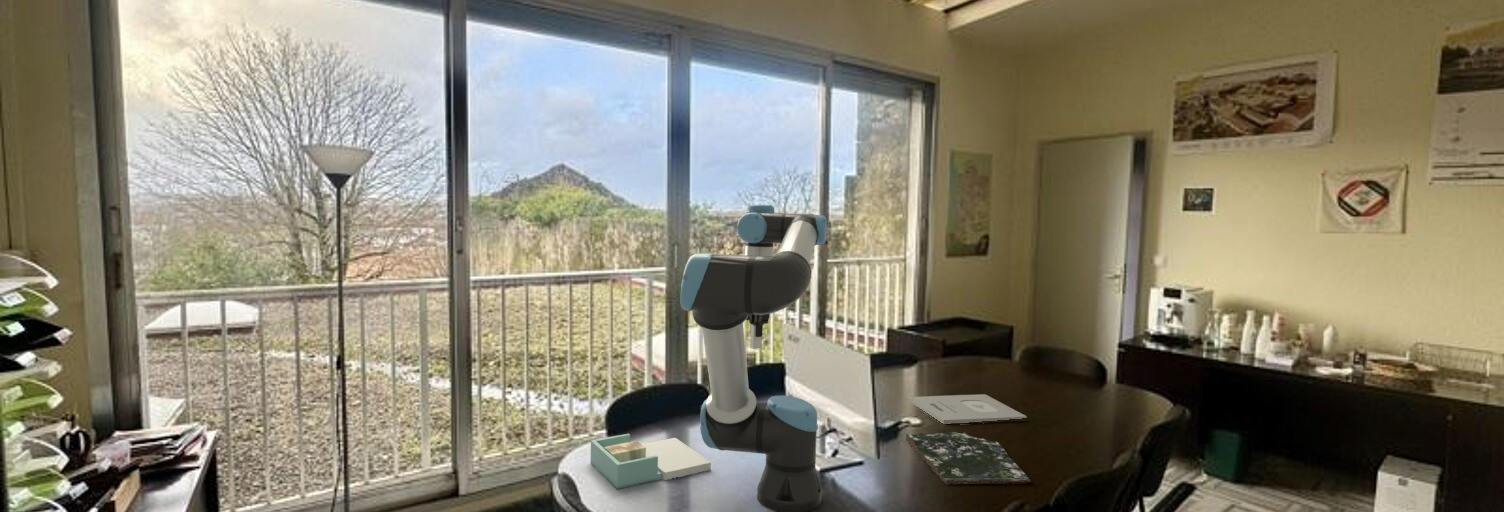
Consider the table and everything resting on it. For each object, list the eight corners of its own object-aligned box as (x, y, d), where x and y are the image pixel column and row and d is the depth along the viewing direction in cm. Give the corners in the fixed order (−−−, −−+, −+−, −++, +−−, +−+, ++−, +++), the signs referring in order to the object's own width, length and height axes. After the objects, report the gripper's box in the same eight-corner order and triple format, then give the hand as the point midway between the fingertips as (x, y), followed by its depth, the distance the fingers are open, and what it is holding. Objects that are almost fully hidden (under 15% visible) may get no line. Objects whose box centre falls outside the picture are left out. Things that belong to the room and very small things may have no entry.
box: (661, 479, 163) (661, 455, 163) (617, 489, 157) (617, 464, 156) (631, 454, 178) (632, 433, 178) (590, 462, 172) (590, 440, 171)
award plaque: (908, 402, 235) (909, 396, 234) (984, 399, 241) (985, 394, 241) (943, 426, 211) (943, 420, 211) (1026, 422, 217) (1026, 416, 217)
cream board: (710, 470, 170) (710, 462, 170) (664, 480, 163) (664, 472, 163) (675, 444, 187) (675, 437, 186) (632, 453, 179) (632, 445, 179)
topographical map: (945, 487, 166) (946, 475, 165) (903, 439, 198) (903, 429, 198) (1043, 486, 168) (1044, 474, 168) (985, 439, 201) (986, 429, 201)
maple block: (645, 447, 168) (612, 454, 163) (645, 468, 168) (612, 476, 163) (636, 440, 172) (603, 447, 167) (636, 461, 173) (603, 468, 168)
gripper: (784, 263, 175) (780, 351, 177) (757, 259, 186) (754, 342, 188) (760, 264, 171) (757, 354, 173) (734, 259, 182) (731, 344, 184)
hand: (755, 347), depth 180 cm, fingers closed
